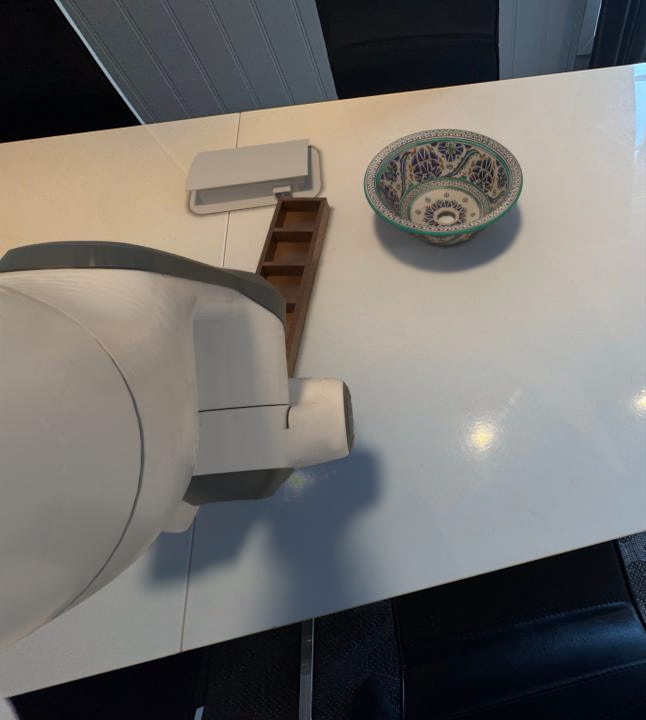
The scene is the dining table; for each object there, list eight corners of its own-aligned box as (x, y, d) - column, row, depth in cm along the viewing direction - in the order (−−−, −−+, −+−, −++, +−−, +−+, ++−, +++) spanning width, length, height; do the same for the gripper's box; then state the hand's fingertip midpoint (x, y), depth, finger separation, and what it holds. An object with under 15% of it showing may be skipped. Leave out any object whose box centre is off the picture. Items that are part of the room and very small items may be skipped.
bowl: (409, 163, 96) (402, 116, 88) (536, 192, 91) (541, 145, 83) (348, 255, 83) (334, 210, 75) (492, 294, 79) (493, 251, 71)
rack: (227, 401, 69) (218, 391, 67) (284, 209, 89) (278, 197, 87) (287, 401, 69) (280, 391, 67) (330, 209, 89) (326, 197, 87)
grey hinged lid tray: (321, 198, 91) (315, 179, 87) (188, 216, 88) (176, 198, 85) (318, 145, 99) (312, 127, 95) (195, 161, 96) (185, 142, 93)
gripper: (188, 325, 51) (49, 339, 51) (140, 536, 41) (-35, 554, 40) (219, 357, 56) (93, 369, 56) (183, 549, 46) (29, 566, 46)
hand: (39, 448), depth 48 cm, fingers closed on supplement bottle, 5 cm apart
